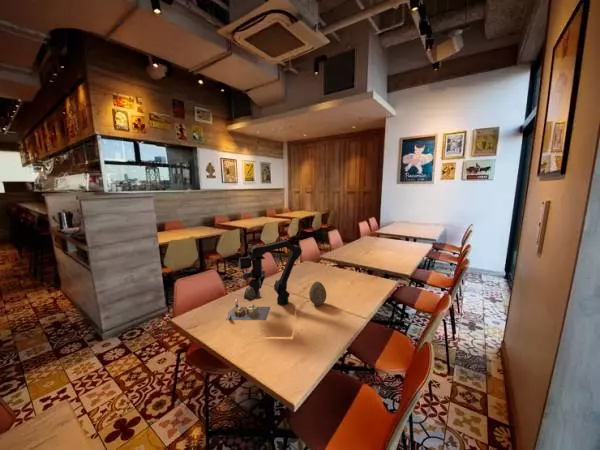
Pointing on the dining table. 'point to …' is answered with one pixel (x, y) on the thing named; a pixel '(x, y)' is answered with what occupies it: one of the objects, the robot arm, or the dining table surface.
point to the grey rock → (251, 293)
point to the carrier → (241, 313)
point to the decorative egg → (317, 293)
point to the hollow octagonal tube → (252, 310)
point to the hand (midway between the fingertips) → (258, 291)
